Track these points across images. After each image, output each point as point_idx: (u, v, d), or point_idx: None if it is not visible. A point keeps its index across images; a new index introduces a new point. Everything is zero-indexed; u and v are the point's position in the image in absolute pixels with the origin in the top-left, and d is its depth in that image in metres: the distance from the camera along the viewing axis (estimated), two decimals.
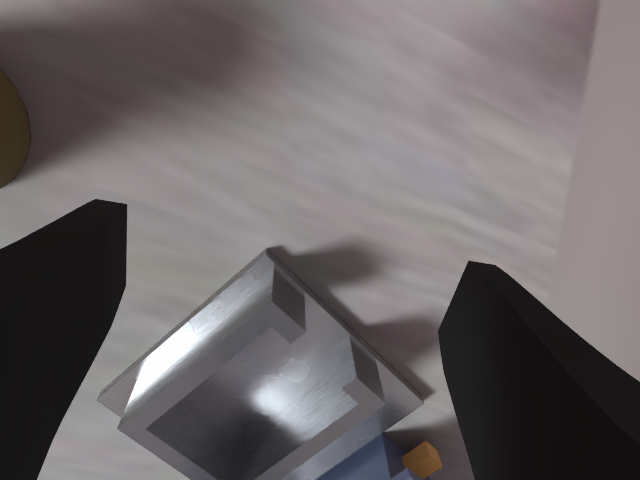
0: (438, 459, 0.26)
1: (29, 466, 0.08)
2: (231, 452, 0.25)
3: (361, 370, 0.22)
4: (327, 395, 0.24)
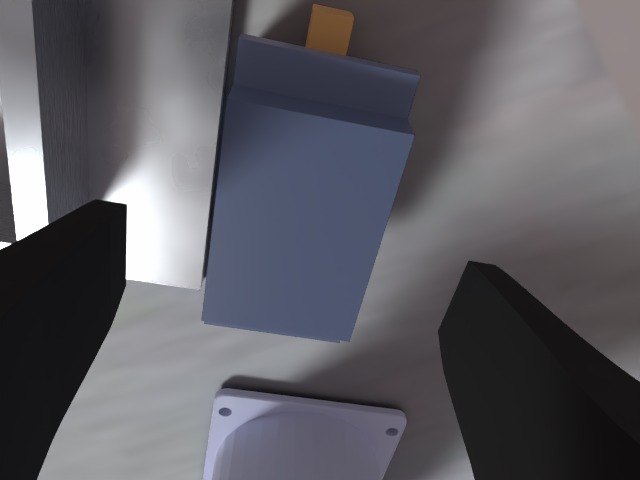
0: (343, 14, 0.13)
1: (29, 466, 0.08)
2: None
3: None
4: None
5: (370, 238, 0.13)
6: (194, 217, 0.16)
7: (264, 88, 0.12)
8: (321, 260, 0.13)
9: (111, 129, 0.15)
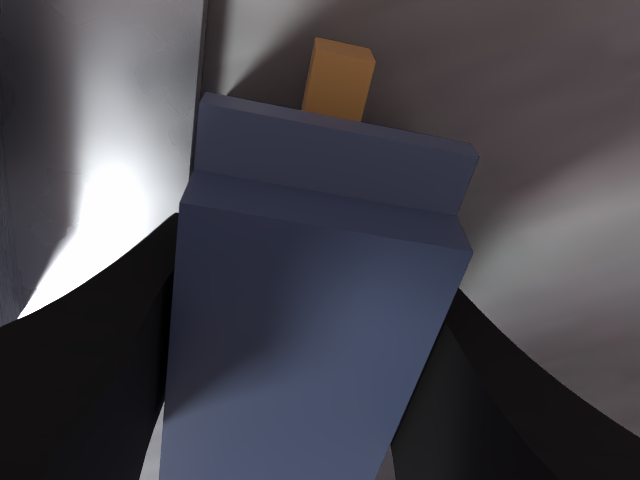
0: (360, 54, 0.09)
1: (134, 477, 0.08)
2: None
3: None
4: None
5: (399, 383, 0.09)
6: None
7: (241, 174, 0.08)
8: (327, 410, 0.09)
9: (43, 200, 0.11)
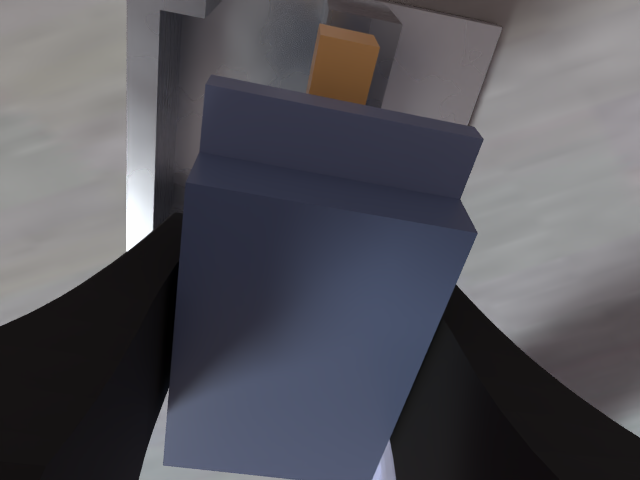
0: (364, 40, 0.09)
1: (133, 477, 0.08)
2: None
3: (345, 7, 0.14)
4: None
5: (403, 367, 0.09)
6: None
7: (247, 157, 0.08)
8: (331, 394, 0.09)
9: None
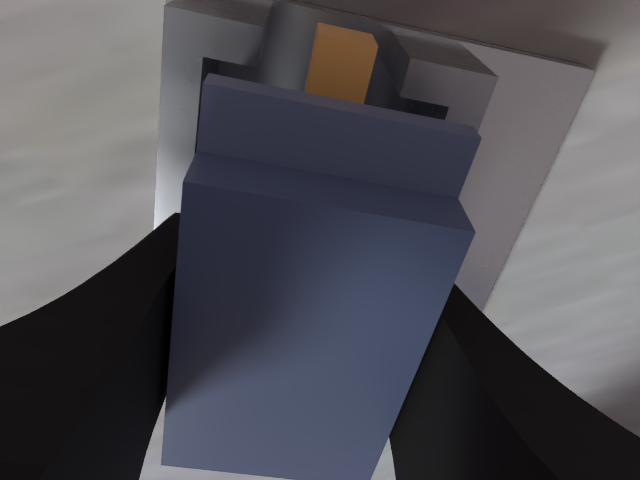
0: (362, 39, 0.09)
1: (134, 477, 0.08)
2: None
3: (425, 53, 0.11)
4: None
5: (401, 366, 0.09)
6: None
7: (244, 156, 0.08)
8: (329, 393, 0.09)
9: None
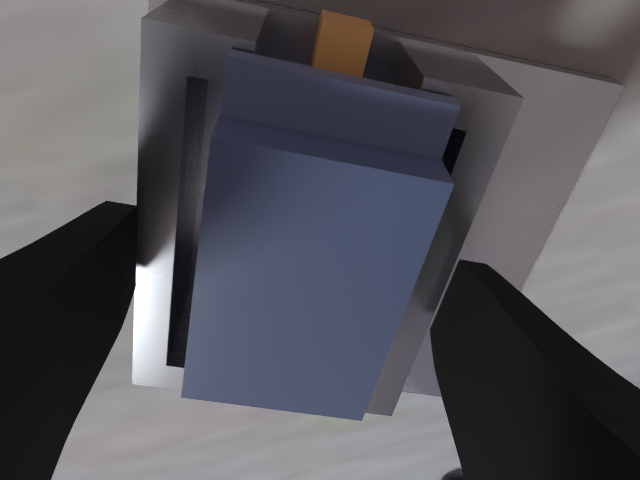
0: (360, 23, 0.10)
1: (43, 467, 0.08)
2: None
3: (439, 69, 0.10)
4: None
5: (391, 305, 0.10)
6: None
7: (260, 119, 0.09)
8: (330, 330, 0.10)
9: None
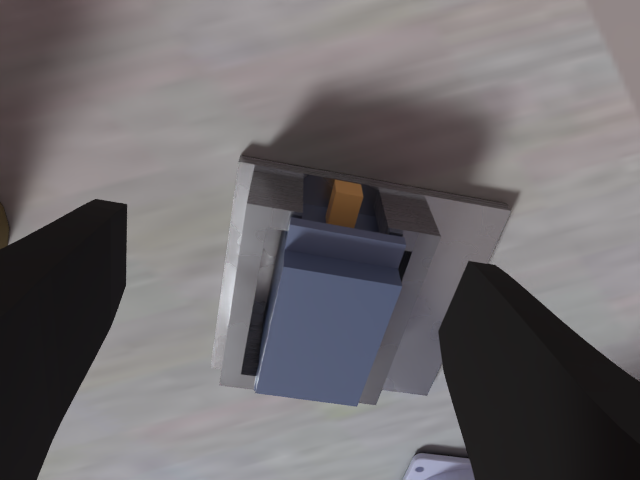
0: (356, 191, 0.19)
1: (29, 466, 0.08)
2: None
3: (398, 217, 0.19)
4: None
5: (372, 343, 0.19)
6: (436, 355, 0.25)
7: (304, 251, 0.18)
8: (339, 356, 0.19)
9: None
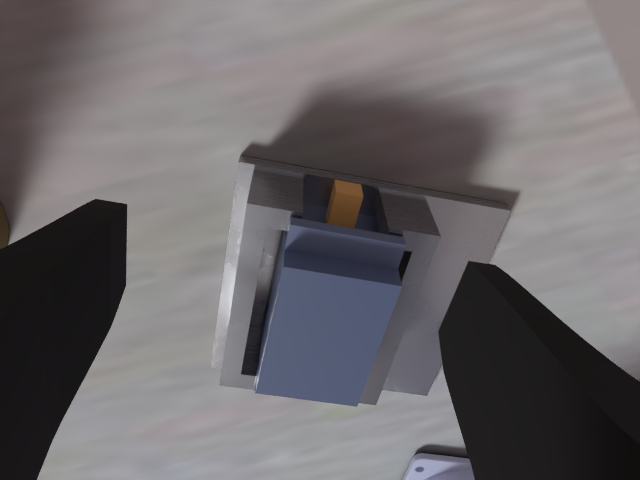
0: (356, 191, 0.19)
1: (29, 466, 0.08)
2: None
3: (398, 217, 0.19)
4: None
5: (372, 343, 0.19)
6: (436, 355, 0.25)
7: (304, 251, 0.18)
8: (339, 356, 0.19)
9: None
